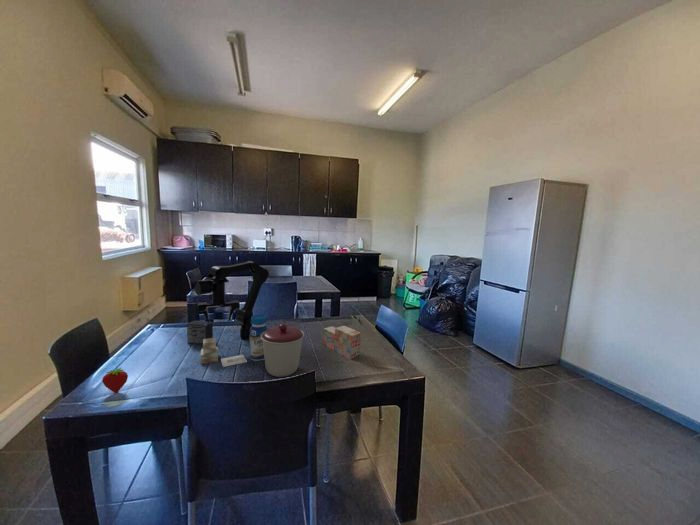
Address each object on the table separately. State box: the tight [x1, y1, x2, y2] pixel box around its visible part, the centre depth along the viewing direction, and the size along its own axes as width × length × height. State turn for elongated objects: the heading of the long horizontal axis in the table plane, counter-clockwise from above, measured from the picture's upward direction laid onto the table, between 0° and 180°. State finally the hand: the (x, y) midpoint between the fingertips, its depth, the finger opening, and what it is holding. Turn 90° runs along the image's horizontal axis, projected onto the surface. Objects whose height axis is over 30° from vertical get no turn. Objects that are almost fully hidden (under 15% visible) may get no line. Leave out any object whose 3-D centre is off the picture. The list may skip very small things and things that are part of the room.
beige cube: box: [202, 337, 217, 354], centre depth 131 cm, size 5×5×5 cm
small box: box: [186, 320, 214, 346], centre depth 149 cm, size 11×6×10 cm, turn 84°
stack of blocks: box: [322, 325, 362, 360], centre depth 147 cm, size 21×6×12 cm, turn 44°
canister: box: [261, 323, 305, 378], centre depth 124 cm, size 18×18×21 cm
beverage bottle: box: [248, 313, 269, 362], centre depth 135 cm, size 8×8×20 cm
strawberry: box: [101, 364, 129, 394], centre depth 104 cm, size 6×8×10 cm
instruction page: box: [220, 354, 248, 368], centre depth 132 cm, size 10×8×1 cm
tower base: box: [200, 346, 219, 365], centre depth 132 cm, size 7×7×4 cm
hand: (219, 322), depth 145 cm, fingers open, 9 cm apart
